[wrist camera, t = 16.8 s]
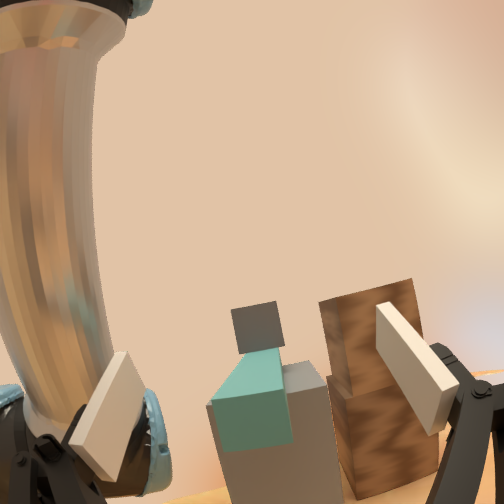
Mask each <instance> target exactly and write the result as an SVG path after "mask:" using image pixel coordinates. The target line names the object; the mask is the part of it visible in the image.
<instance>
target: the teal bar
mask: <svg viewBox="0 0 504 504" xmlns="http://www.w3.org/2000/svg"><path fill="white" fill-rule="evenodd" d="M231 314H232V319H233V325H234V330H235V335H236V340H237V345H238V351H239V354H244V353H246V354H245V355H244V357H243V358H242V359H241V361H240V362H239V364H238V365H237V366H236V368H235V369H234V370H233V372H232V373H231V374H230V376H229V377H228V378H227V380H226V381H225V382H224V383H223V385H222V386H221V387H220V389H219V390H218V391H217V393H216V394H215V395H214V397H213V398H212V399H211V402H212V407H213V411H214V415H215V419H216V424H217V428H218V432H219V436H220V440H221V444H222V448H223V451H224V452H234V451H243V450H251V449H259V448H265V447H272V446H278V445H284V444H290V443H294V442H293V435H292V428H291V422H290V415H289V408H288V402H287V395H286V389H285V382H284V376H283V369H282V363H281V359H280V353H279V348H278V347H282V346H285V344H284V338H283V333H282V328H281V323H280V318H279V313H278V308H277V303H276V301H273V302H268V303H263V304H258V305H253V306H248V307H242V308H237V309H232V310H231Z"/></svg>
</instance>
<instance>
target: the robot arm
mask: <svg viewBox="0 0 504 504" xmlns="http://www.w3.org/2000/svg"><path fill="white" fill-rule="evenodd" d="M152 3H153V0H0V333H1V336H2V338H3V341H4V344H5V346H6V349H7V351H8V353H9V356H10V358H11V361H12V363H13V365H14V368H15V370H16V372H17V374H18V376H19V378H20V380H21V383H22V385H23V386H24V389H25V391H26V394H25V397H24V392H23V391H22V389H21V387H20V386H19V385H18V384H14V385H13V384H11V385H10V384H8V385H2V386H0V504H107V502H106V500H105V498H119V497H128V496H136V497H143V496H144V495H146V494H149V493H154V492H158V491H163V490H165V489H166V488H168V487H169V485H170V484H171V481H172V462H171V456H170V451H169V448H168V441H167V433H166V429H165V424H164V420H163V416H162V412H161V409H160V406H159V402H158V399H157V397H156V395H155V393H154V392H153V391H152V390H150V389H148V388H145V386H144V384H143V382H142V380H141V378H140V376H139V374H138V372H137V370H136V368H135V366H134V364H133V362H132V360H131V358H130V355H129V353H128V351H123V352H116V353H115V354H114V350H113V346H112V342H111V337H110V332H109V327H108V322H107V317H106V312H105V306H104V301H103V294H102V288H101V281H100V274H99V267H98V259H97V249H96V239H95V228H94V216H93V198H92V120H93V119H92V118H93V103H94V91H95V80H96V71H97V64H98V61H99V60H100V59H101V57H102V56H104V55H105V54H106V53H107V52H108V51H110V50H111V49H112V48H113V47H114V46H115V45H117V44H118V43H119V42H120V41H121V40H122V39H123V38H124V35H125V31H126V25H127V19H128V18H129V19H134V18H136V17H137V16H142V15H145V14H146V13H147V12H148V11H149V10H150V8H151V5H152ZM376 349H377V351H378V352H379V354H380V356H381V357H382V359H383V360H384V362H385V364H386V365H387V367H388V369H389V370H390V372H391V373H392V375H393V377H394V378H395V380H396V382H397V383H398V385H399V387H400V388H401V390H402V392H403V393H404V395H405V397H406V398H407V400H408V402H409V403H410V405H411V407H412V408H413V410H414V412H415V414H416V415H417V417H418V419H419V421H420V422H421V424H422V426H423V427H424V429H425V431H426V433H427V435H428V436H431V435H433V434H435V433H438V432H440V431H442V430H444V429H445V426H446V424H447V421H448V422H449V424H450V425H451V427H452V428H451V430H450V432H449V435H448V437H447V440H446V441H447V444H446V447H445V451H444V454H443V457H442V460H441V463H440V466H439V469H438V472H437V475H436V478H435V481H434V483H433V486H432V489H431V491H430V494H429V496H428V499H427V501H426V503H425V504H474V503H475V500H476V496H477V493H478V489H479V485H480V482H481V478H482V473H483V469H484V465H485V460H486V455H487V450H488V444H489V438H490V432H492V438H493V448H494V461H495V486H496V499H495V504H504V383H503V384H499V385H494V386H492V385H491V384H490V383H488V382H487V381H483V380H476V379H475V378H474V377H473V376H472V375H471V373H470V372H469V371H468V370H467V369H466V368H465V367H464V365H463V364H462V363H461V362H460V361H458V359H457V358H456V356H455V355H453V354H452V352H451V351H450V350H449V349H448V348H447V347H446V346H444V345H442V344H440V343H435V344H432V345H430V346H428V345H427V343H426V342H425V341H424V340H423V339H422V338H421V336H420V335H419V334H418V333H417V332H416V331H415V330H414V328H413V327H412V326H411V325H410V324H409V323H408V322H407V320H406V319H405V318H404V317H403V316H402V315H401V314H400V313H399V312H398V310H397V309H396V308H395V307H394V306H393V305H392V304H391V303H390V302H386V303H382V304H378V305H376Z"/></svg>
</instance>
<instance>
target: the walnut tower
mask: <svg viewBox="0 0 504 504" xmlns="http://www.w3.org/2000/svg"><path fill="white" fill-rule="evenodd" d="M386 302H390V303H391V304H392V305H393V306H394V307H395V308H396V309H397V310H398V312H399V313H400V314H401V315H402V316H403V317H404V318H405V319H406V320H407V322H408V323H409V324H410V325H411V326H412V327H413V328H414V330H415V331H416V332H417V333H418V334H419V335H420V336H421V338H422V339H423V333H422V327H421V321H420V316H419V310H418V305H417V300H416V295H415V290H414V286H413V281H412V278H410V279H407V280H403V281H399V282H396V283H392V284H388V285H384V286H381V287H376V288H373V289H369V290H365V291H361V292H356V293H352V294H349V295H344V296H340V297H335V298H332V299H329V300H325V301H322V302H319V307H320V312H321V318H322V322H323V328H324V333H325V338H326V343H327V348H328V354H329V360H330V365H331V371H332V375H330V376H326V379H327V384H328V390H329V396H330V402H331V408H332V415H333V421H334V428H335V434H336V441H337V448H338V456H339V460H340V463H341V465H342V467H343V469H344V472H345V474H346V476H347V479H348V481H349V483H350V485H351V488H352V490H353V492H354V494H355V497H356V499H357V501H358V500H361V499H364V498H368V497H371V496H374V495H377V494H380V493H383V492H386V491H389V490H392V489H395V488H397V487H400V486H403V485H405V484H408V483H410V482H413V481H415V480H418V479H420V478H422V477H425V476H427V475H429V474H432V473H434V472H436V471H438V457H439V434H438V433H435V434H433V435H431V436H428V435H427V433H426V431H425V429H424V427H423V426H422V424H421V422H420V421H419V419H418V417H417V415H416V414H415V412H414V410H413V408H412V407H411V405H410V403H409V402H408V400H407V398H406V397H405V395H404V393H403V392H402V390H401V388H400V387H399V385H398V383H397V382H396V380H395V378H394V377H393V375H392V373H391V372H390V370H389V369H388V367H387V365H386V364H385V362H384V360H383V359H382V357H381V356H380V354H379V352H378V351H377V349H376V305H378V304H382V303H386ZM423 340H424V339H423Z"/></svg>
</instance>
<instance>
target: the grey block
mask: <svg viewBox="0 0 504 504" xmlns="http://www.w3.org/2000/svg"><path fill="white" fill-rule="evenodd" d="M282 369H283V376H284V382H285V389H286V395H287V402H288V408H289V415H290V422H291V428H292V435H293V442H294V443H290V444H284V445H278V446H272V447H265V448H259V449H251V450H243V451H234V452H224V451H223V448H222V444H221V440H220V436H219V432H218V428H217V424H216V419H215V415H214V411H213V407H212V402H211V400H210V401H209V402H208V404H207V405H206V409H207V413H208V417H209V421H210V425H211V429H212V433H213V437H214V441H215V445H216V449H217V453H218V457H219V460H220V464H221V467H222V471H223V475H224V478H225V481H226V485H227V488H228V492H229V495H230V498H231V502H232V504H344V500H343V491H342V483H341V475H340V467H339V460H338V452H337V445H336V438H335V432H334V426H333V419H332V412H331V406H330V400H329V394H328V388H327V384H326V383H325V382H324V380H323V379H322V378H321V376H320V375H319V373H318V372H317V371H316V369H315V368H314V367H313V365H312V364H311V363H310V361H309V360H308V361H304V362H299V363H294V364H289V365H284V366H282ZM219 389H220V388H219ZM216 393H217V392H216ZM213 397H214V396H213Z"/></svg>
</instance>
